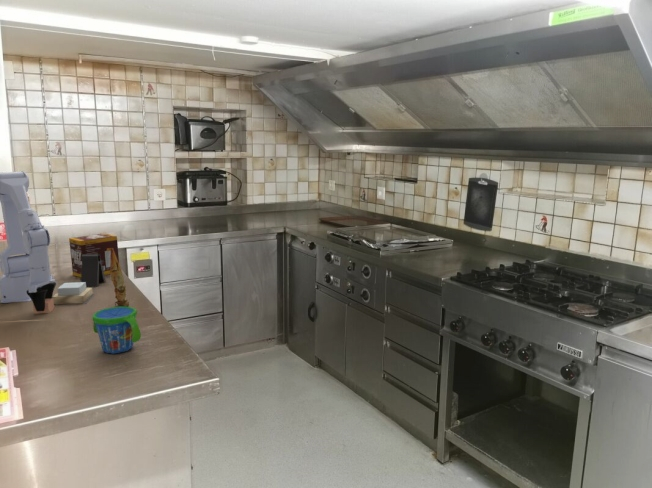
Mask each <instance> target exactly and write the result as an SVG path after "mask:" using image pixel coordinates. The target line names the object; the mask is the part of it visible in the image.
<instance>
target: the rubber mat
mask: <svg viewBox="0 0 652 488" xmlns="http://www.w3.org/2000/svg"><path fill="white" fill-rule="evenodd" d="M96 295H97V293H93V295H92V296H91V297H90V298H89V299H88V300H87V301H85V302H84V303H71V304H54V306H64V305H67V306H68V305H87V304H88V303H89V301H91V299H92V298H93V297H95V296H96Z"/></svg>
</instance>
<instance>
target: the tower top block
mask: <svg viewBox="0 0 652 488" xmlns="http://www.w3.org/2000/svg"><path fill="white" fill-rule="evenodd" d="M86 288H87V287H86V282H81V281H80V282H64V283H63V284H61V285H60V286H59V287H57V293H58V296H60V295H80V294H81V293H82V292H84V291H85V290H86Z"/></svg>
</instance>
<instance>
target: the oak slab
mask: <svg viewBox="0 0 652 488" xmlns="http://www.w3.org/2000/svg"><path fill="white" fill-rule="evenodd" d="M93 294H94V293H93V287H86V290H85V291H84V292H82V293H81V294H80V295H60V296H58V292H56V293H55V294H53V295H52V299H53V300H54V304H71V303H84V302H85V301H87V300H88V299H89V298H90V297H91V296H92V295H93ZM71 305H72V304H71Z"/></svg>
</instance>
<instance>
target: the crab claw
mask: <svg viewBox="0 0 652 488" xmlns="http://www.w3.org/2000/svg"><path fill="white" fill-rule="evenodd" d="M110 257H111V265H110V274H109V275H110V279H111V282H112V284H113V286H114V287H113V288H114V293H115V297H114V298H115V299H116V300H117V301H115V302H114V307H117V306H118V307H130V302H129V300H128V299H126V297H127V286H126V285H124V284H125V280H124V279H125V277H124V274H123V271H122V268H121V265H120V261H119V262H118V260H117V258H116V255H115V252H114V249H113V248H111V256H110Z"/></svg>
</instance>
